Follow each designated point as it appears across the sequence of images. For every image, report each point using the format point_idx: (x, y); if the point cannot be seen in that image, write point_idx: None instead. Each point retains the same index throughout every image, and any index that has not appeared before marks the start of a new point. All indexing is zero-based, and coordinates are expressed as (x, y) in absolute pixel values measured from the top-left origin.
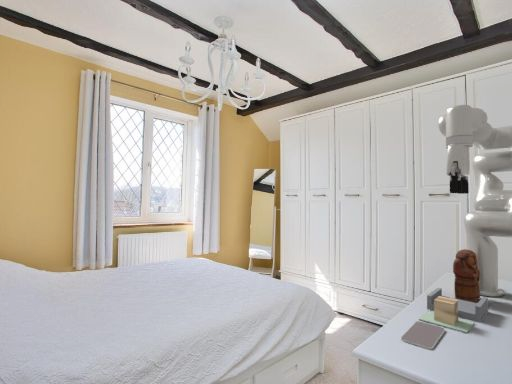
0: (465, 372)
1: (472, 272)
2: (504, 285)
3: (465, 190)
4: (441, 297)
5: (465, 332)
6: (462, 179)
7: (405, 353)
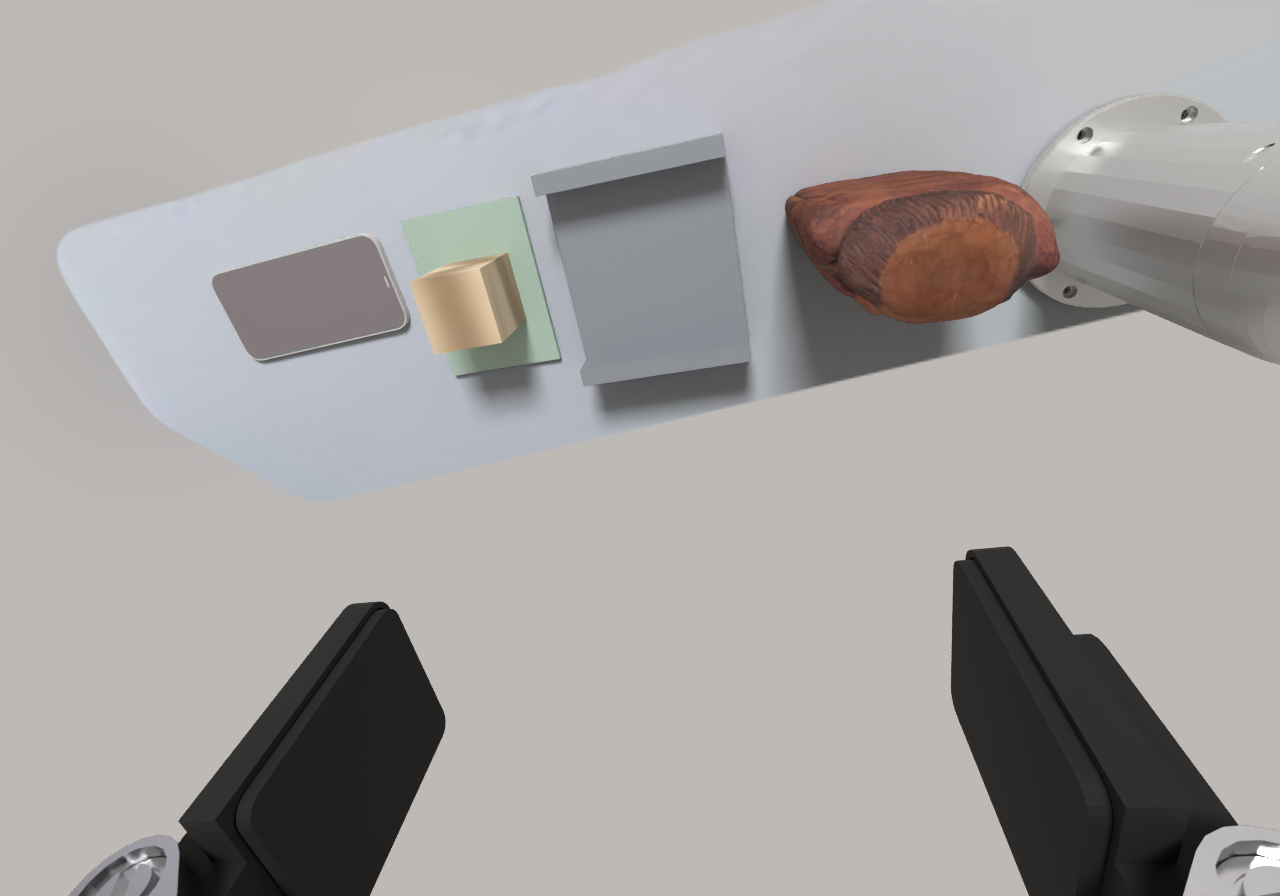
0: (249, 449)
1: (853, 295)
2: None
3: (975, 721)
4: (468, 285)
5: (453, 370)
6: None
7: (172, 328)
